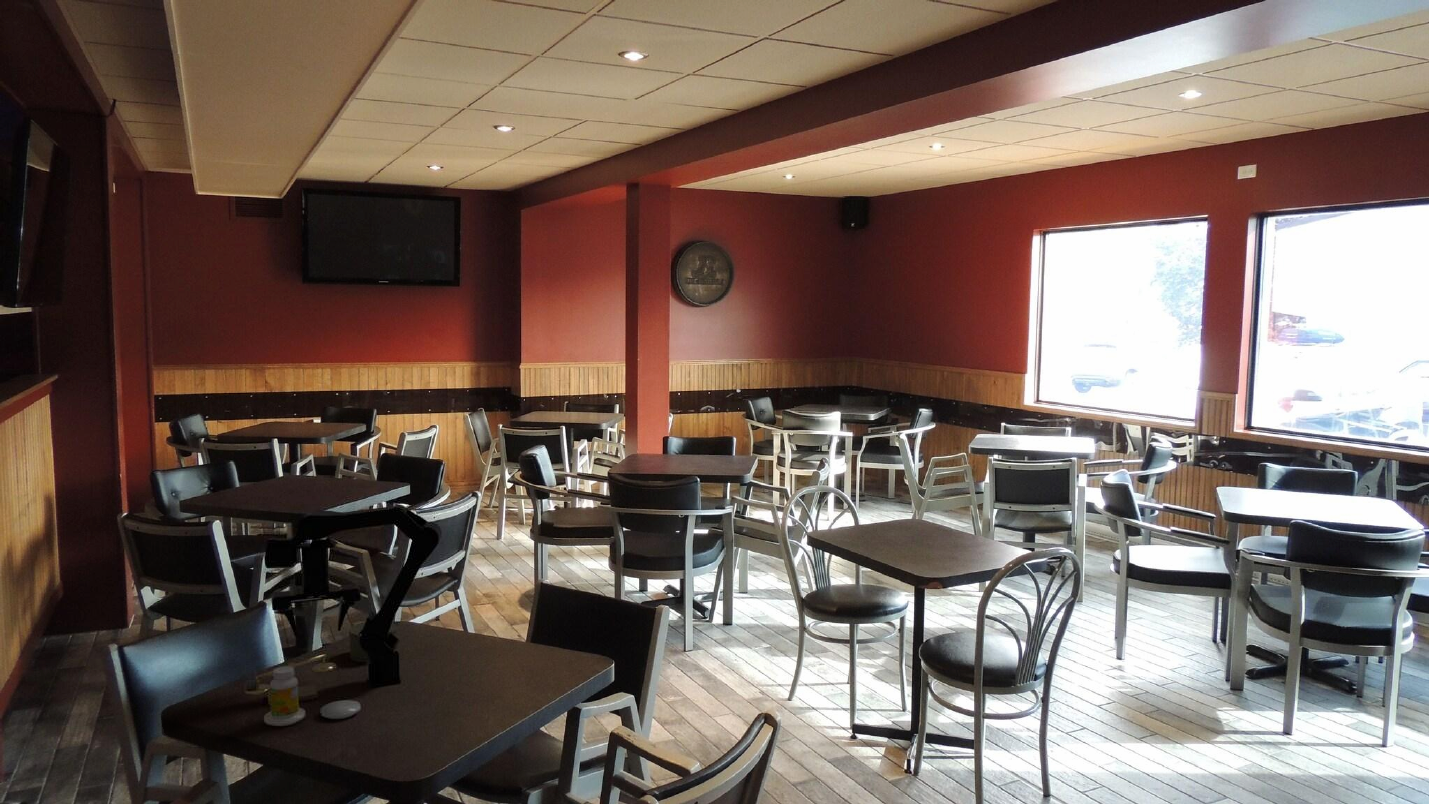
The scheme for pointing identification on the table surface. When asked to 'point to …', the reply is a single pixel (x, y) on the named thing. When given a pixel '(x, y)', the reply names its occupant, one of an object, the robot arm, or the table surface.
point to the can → (356, 648)
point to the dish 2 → (340, 709)
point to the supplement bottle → (284, 693)
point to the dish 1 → (286, 721)
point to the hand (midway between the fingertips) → (317, 633)
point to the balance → (303, 692)
